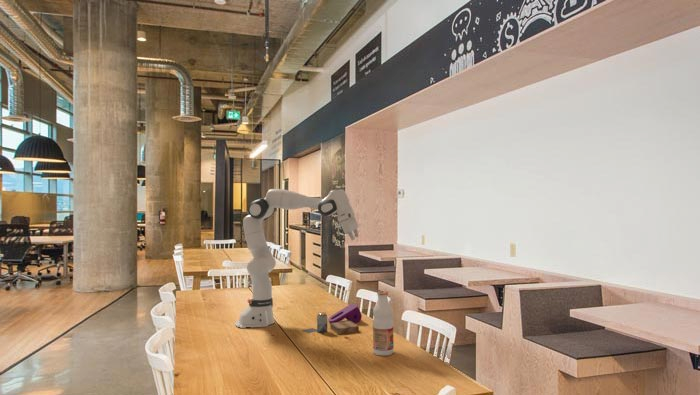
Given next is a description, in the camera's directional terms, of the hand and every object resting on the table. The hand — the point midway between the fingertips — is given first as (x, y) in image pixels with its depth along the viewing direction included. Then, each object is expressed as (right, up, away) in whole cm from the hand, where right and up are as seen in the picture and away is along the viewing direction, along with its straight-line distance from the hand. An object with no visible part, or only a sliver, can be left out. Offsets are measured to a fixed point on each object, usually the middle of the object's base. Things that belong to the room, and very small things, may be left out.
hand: (355, 238), depth 255 cm
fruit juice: (+12, -49, -46) cm, 68 cm away
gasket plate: (-25, -50, -8) cm, 56 cm away
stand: (-6, -49, -8) cm, 50 cm away
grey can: (-18, -49, -11) cm, 54 cm away
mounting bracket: (-7, -50, +9) cm, 51 cm away
